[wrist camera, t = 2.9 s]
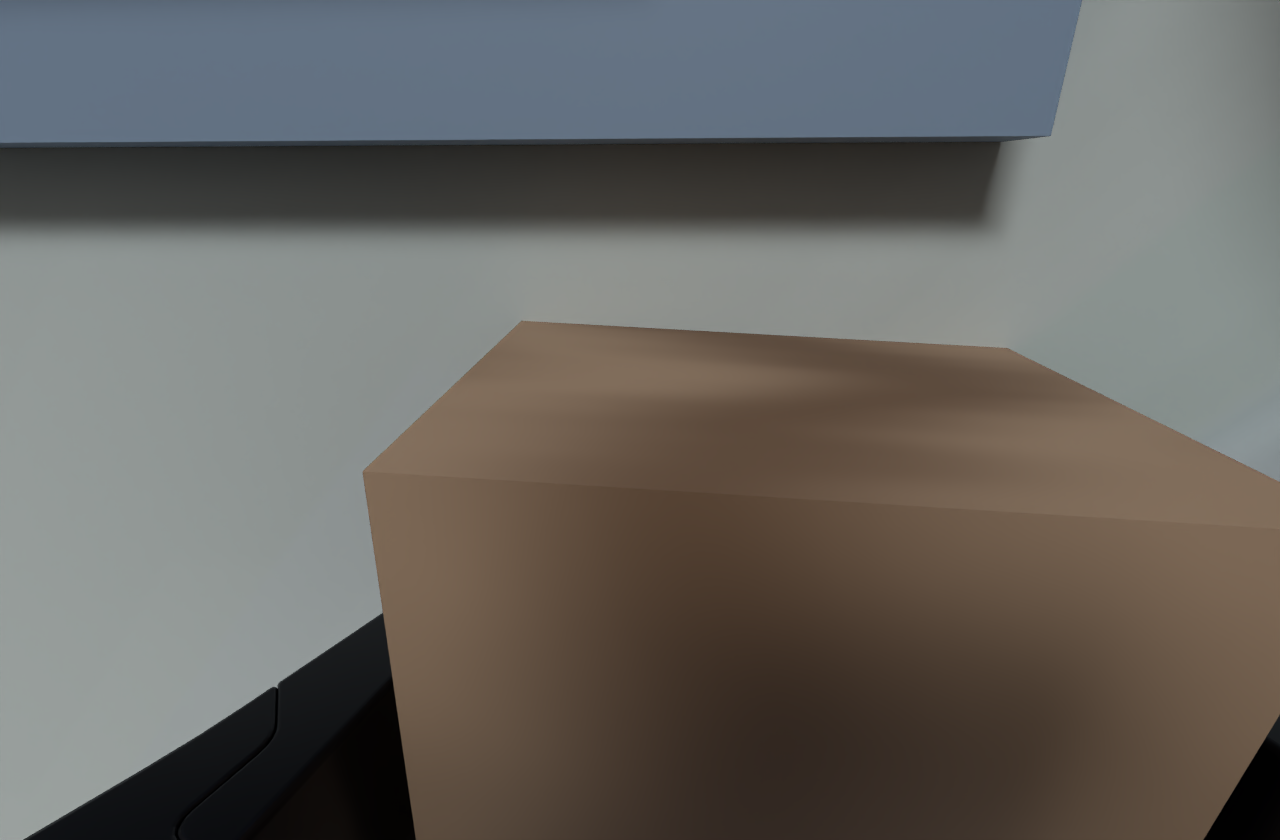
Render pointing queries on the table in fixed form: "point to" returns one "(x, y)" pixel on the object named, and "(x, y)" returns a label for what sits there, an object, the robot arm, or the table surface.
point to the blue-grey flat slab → (528, 71)
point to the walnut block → (816, 597)
